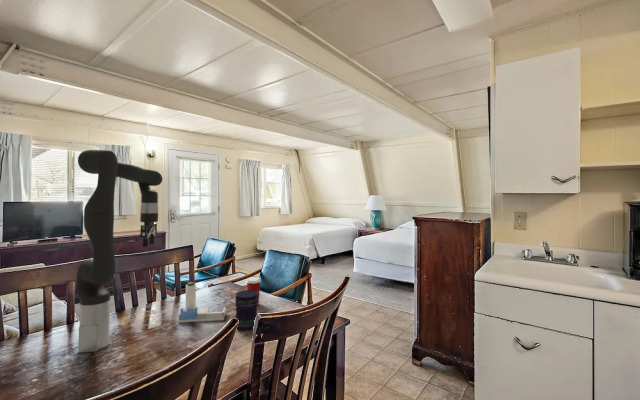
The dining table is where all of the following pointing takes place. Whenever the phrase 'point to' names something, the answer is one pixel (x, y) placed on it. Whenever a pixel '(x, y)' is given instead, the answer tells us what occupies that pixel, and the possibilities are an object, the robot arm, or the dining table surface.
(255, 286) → the paper cup
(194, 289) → the off-white tall block
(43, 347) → the dining table surface
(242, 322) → the storage jar
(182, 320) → the grey blue holder base
